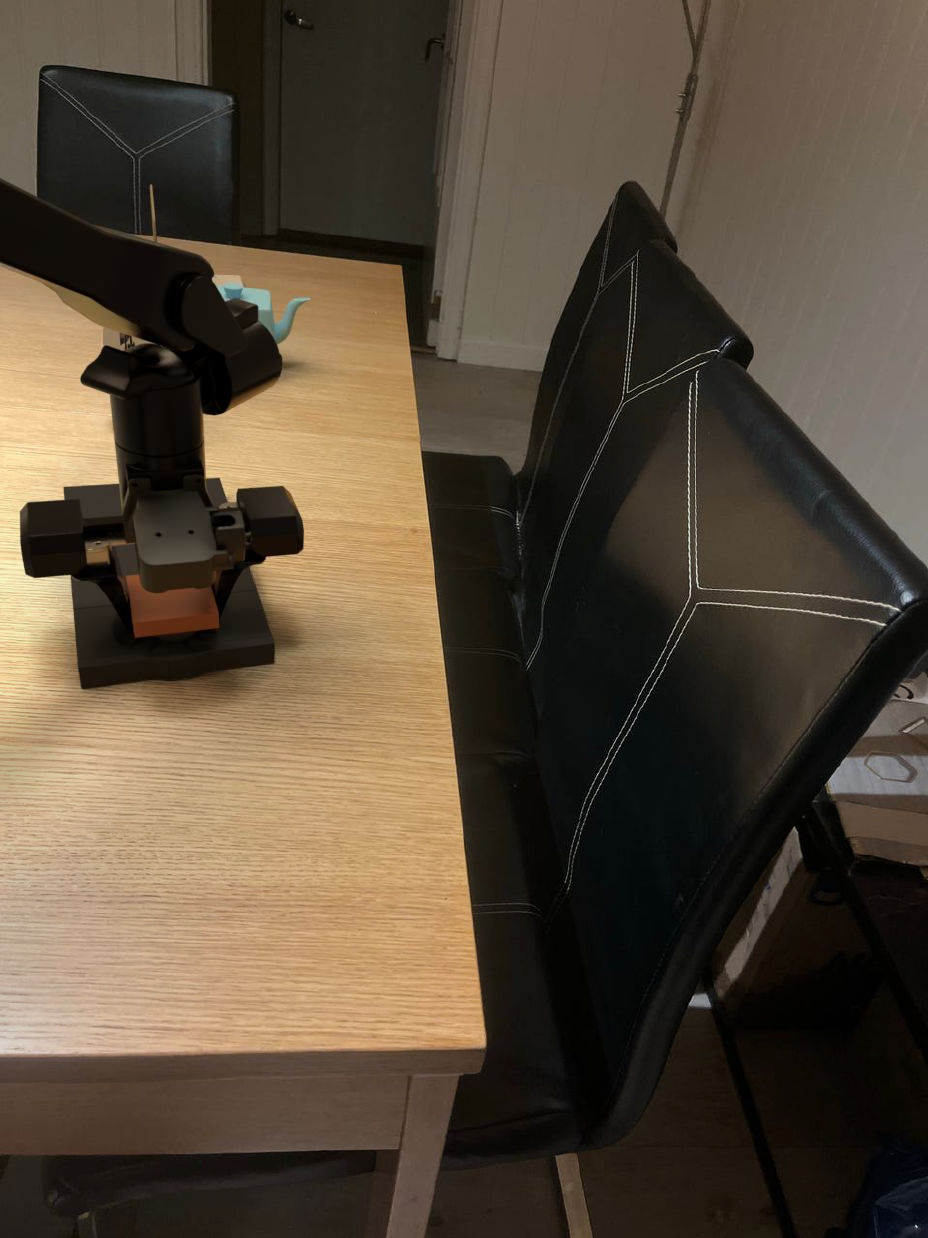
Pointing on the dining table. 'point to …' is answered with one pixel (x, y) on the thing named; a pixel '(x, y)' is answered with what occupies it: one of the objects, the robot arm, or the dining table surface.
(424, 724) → the dining table surface
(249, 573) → the back pad
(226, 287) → the teapot
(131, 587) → the reddish orange rectangular block
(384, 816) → the dining table surface
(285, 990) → the dining table surface
